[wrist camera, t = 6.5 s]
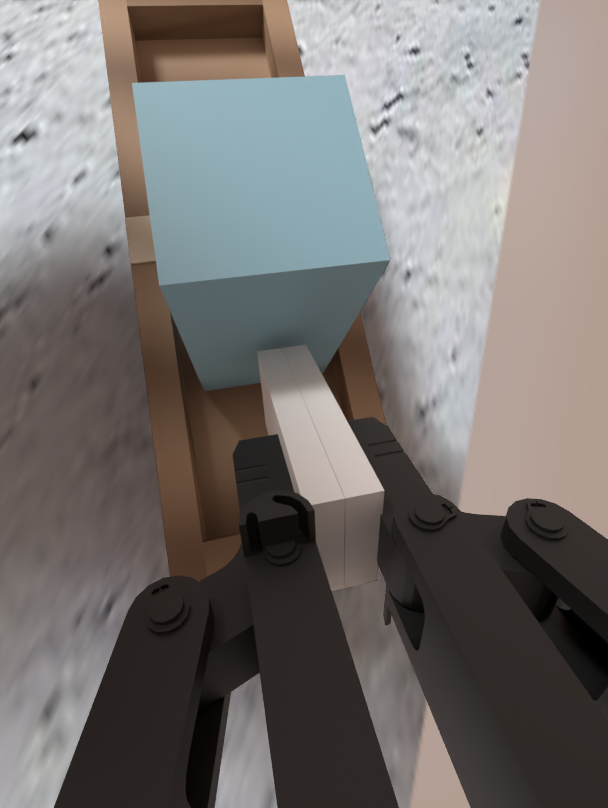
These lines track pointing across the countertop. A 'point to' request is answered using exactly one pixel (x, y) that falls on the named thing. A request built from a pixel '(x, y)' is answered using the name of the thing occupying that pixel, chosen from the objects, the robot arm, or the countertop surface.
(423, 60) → the countertop surface
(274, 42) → the long brown tray
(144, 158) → the block
